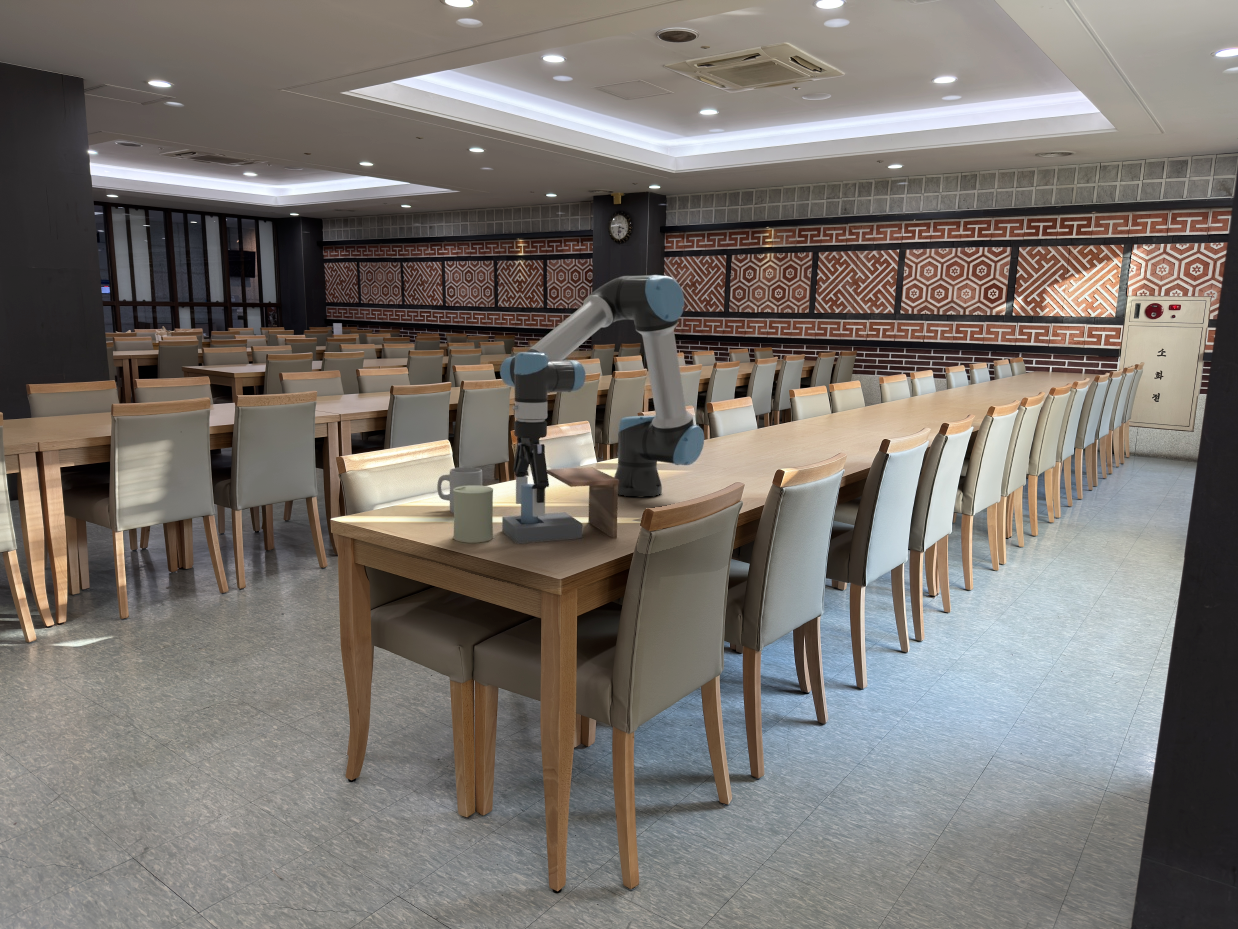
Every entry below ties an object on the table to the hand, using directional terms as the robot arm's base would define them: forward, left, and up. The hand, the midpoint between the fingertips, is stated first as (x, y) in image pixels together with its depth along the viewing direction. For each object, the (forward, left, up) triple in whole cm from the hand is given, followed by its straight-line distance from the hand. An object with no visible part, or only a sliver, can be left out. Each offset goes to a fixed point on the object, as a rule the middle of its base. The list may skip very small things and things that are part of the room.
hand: (529, 509), depth 195 cm
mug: (+10, -30, -7) cm, 32 cm away
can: (+13, -2, -7) cm, 15 cm away
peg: (0, 0, -6) cm, 6 cm away
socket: (-3, 0, -6) cm, 7 cm away
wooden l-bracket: (-13, 0, -6) cm, 14 cm away
